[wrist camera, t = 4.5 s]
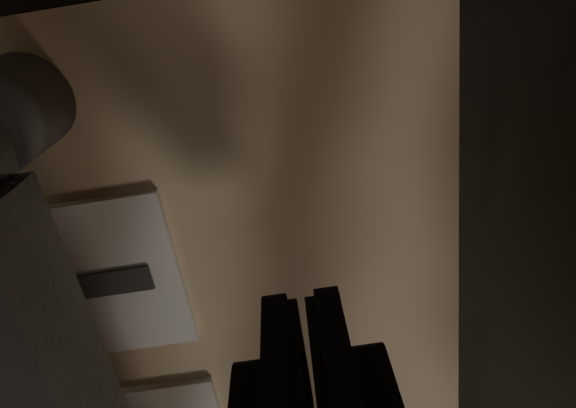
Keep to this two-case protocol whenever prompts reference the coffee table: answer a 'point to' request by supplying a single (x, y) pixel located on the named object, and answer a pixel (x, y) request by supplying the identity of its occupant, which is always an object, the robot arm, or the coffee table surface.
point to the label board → (247, 177)
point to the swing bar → (44, 308)
